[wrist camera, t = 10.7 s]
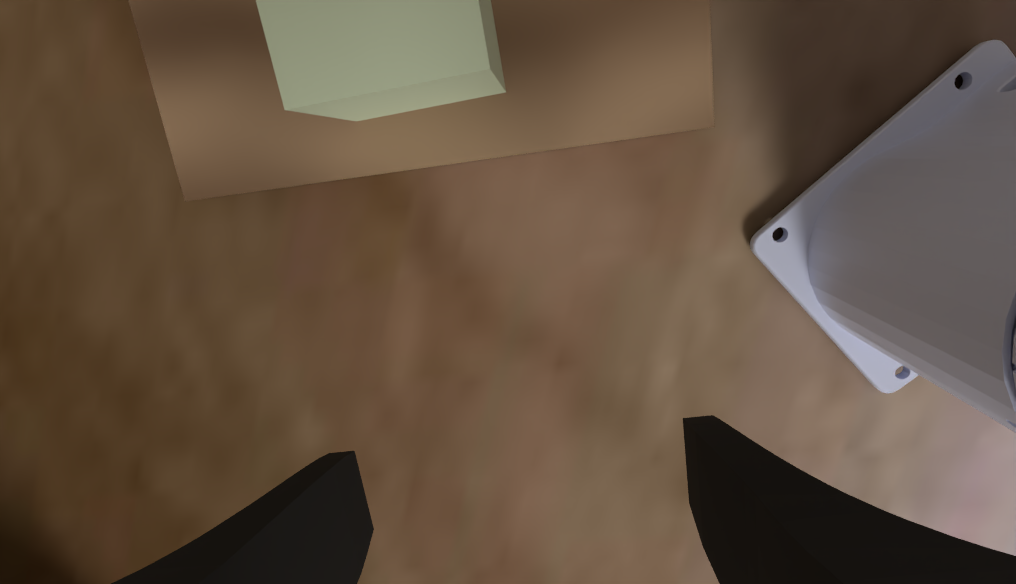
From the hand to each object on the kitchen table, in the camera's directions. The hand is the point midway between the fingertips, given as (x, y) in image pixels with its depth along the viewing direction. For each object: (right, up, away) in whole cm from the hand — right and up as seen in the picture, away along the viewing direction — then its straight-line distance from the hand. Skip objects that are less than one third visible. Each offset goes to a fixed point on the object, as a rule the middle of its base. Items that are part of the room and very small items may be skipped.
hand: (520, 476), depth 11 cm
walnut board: (-3, +13, +7) cm, 15 cm away
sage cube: (-3, +12, +5) cm, 14 cm away
